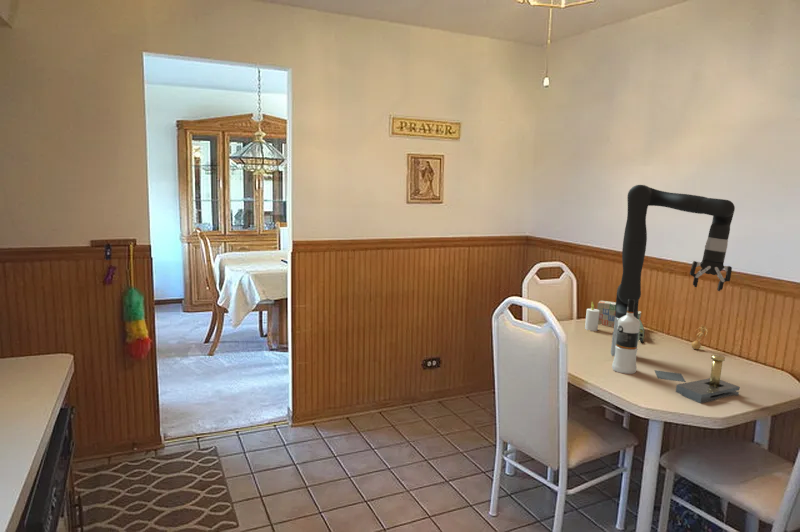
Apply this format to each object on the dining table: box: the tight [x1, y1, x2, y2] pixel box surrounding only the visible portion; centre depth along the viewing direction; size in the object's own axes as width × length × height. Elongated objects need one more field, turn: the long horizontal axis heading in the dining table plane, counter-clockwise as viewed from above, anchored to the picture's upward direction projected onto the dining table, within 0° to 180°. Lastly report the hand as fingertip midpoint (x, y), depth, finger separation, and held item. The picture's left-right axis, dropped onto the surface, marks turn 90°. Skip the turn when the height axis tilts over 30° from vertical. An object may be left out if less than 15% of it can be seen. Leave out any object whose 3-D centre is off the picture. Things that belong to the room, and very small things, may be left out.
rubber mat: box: [654, 369, 687, 383], centre depth 216 cm, size 10×10×1 cm
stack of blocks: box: [596, 300, 642, 328], centre depth 291 cm, size 21×6×12 cm, turn 58°
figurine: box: [691, 324, 709, 350], centre depth 254 cm, size 8×6×12 cm
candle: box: [584, 301, 599, 332], centre depth 282 cm, size 6×6×15 cm
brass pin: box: [709, 354, 726, 388], centre depth 200 cm, size 4×4×14 cm
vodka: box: [611, 299, 640, 375], centre depth 219 cm, size 9×9×30 cm
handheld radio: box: [638, 318, 645, 344], centre depth 271 cm, size 7×3×25 cm
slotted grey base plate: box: [675, 377, 740, 404], centre depth 199 cm, size 21×10×3 cm, turn 115°
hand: (706, 288), depth 220 cm, fingers open, 8 cm apart
